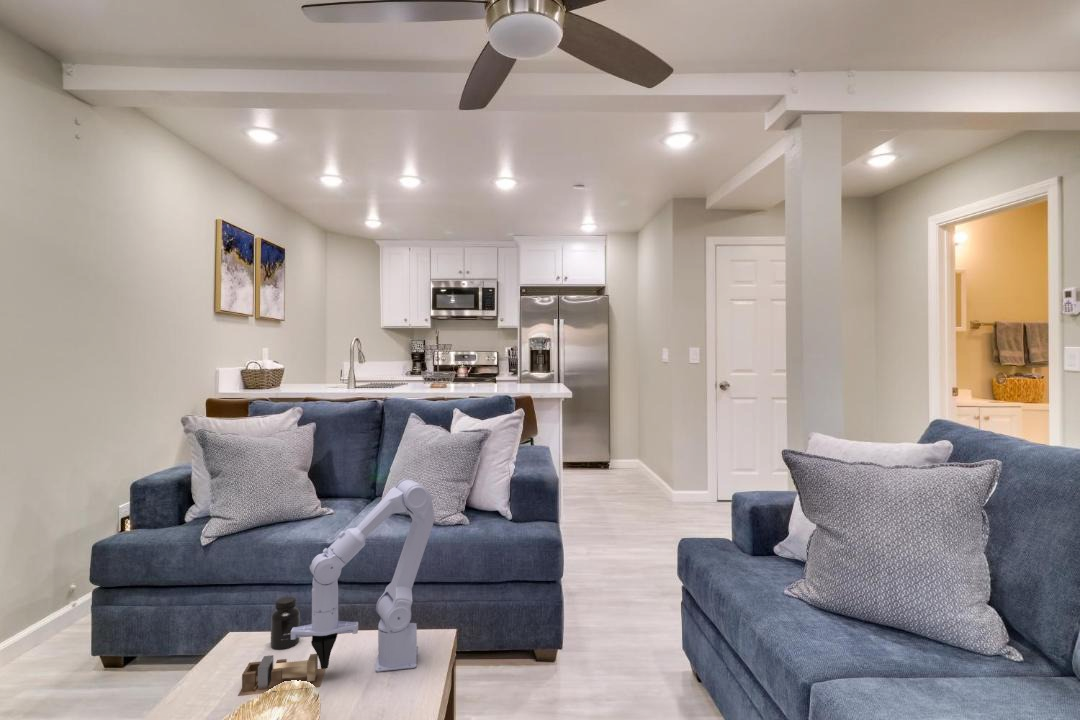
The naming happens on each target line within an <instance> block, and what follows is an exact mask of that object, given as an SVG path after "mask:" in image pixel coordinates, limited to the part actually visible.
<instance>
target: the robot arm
mask: <svg viewBox="0 0 1080 720" xmlns="http://www.w3.org/2000/svg"><path fill="white" fill-rule="evenodd" d="M406 510H407V511H406ZM406 512H408V514H409V516H410V518H411V524H410V527H409V529H408V533H407V536H406V539H405V542H404V544H403V548H402V550H401V553H400V556H399V559H398V561H397V565H396V568H395V571H394V574H393V577H392V579H391V582H390V583H389V584H387V585H386V587H385V590H384V592H383V594H382V595H381V596H380V597H379V598H378V600H377V602H376V606H375V607H376V613H377V614H378V615H379V617H380V620H379V621H378V626H377V628H378V630H377V631H378V632H377V633H378V635H377V636H378V638H377V644H378V646H377V652H378V653H377V657H376V663H375V669H374V671H375V672H377V673H378V672H385V671H386V672H387V671H395V670H396V671H397V670H405V669H413V668H417V656H418V655H419V647H418V646H417V644H418V643H417V642H418V640H417V638H418V636H417V634H418V633H417V632H418V631H417V630H418V629H417V628H418V627H417V623H415V622H410V621H411V620H412V609H411V608H412V604H413V592H412V590H413V587H414V583H415V581H416V577H417V574H418V571H419V568H420V565H421V562H422V559H423V556H424V553H425V549H426V547H427V544H428V541H429V538H430V535H431V532H432V529H433V526H434V522H435V519H436V516H435V512H434V506H433V495H432V494H431V492H430V491H429V489H428V488H427V487H426V486H424V485H423V484H421V483H418V482H417V481H415V480H414V479H413V478H403V479H401V480H400V481H399V482H397V484H396V485H395V486H392V488H390V489H389V491H388V492H387V493H386V494H385V496H384V497H383V498H382V499H381V500H380V501H379V502H378V503H377V505H376V506H375V507H374V508H373V509H372V510H371V511H370V512H369V513H368V514H367V515H366V516H365V518H364V519H363V520H362V521H361V522H360V523H359V524H358V525H357V526H356V527H350V528H347V529H346V530H345V531H344V530H341V531H340V532H339V533H338V536H339V537H337V538H336V540H335V541H334V542H332V543H331V545H329V547H328V548H327V547H325V548H324V549H323V550H322V553H319V554H317V555H316V556H315V557H314V558H313V559H312V561H311V563H310V565H309V571H310V573H311V574H312V576H313V577H312V588H311V623H310V624H309V623H308V624H306V625H305V624H304V625H301V626H299V627H293V628H292V630H291V640H293V639H296V638H299V639H300V638H310V637H311V642H310V643H311V646H312V648H313V650H314V651H315V652H316V653H315V654H317V655H318V662H319V664H320V669H326V670H327V669H328V667H329V664H330V658H331V657H330V656H331V654H332V653H331V652H332V650H333V647H334V646H335V643H336V640H337V638H338V635H343V634H353V635H357V634H358V633H359V621H344V620H343V621H341V620H339V585H338V582H339V580H338V579H339V578H340V576H341V574H342V570H343V569H342V568H344V567H345V566H346V565H347V564H348V563H349V562H350V561H351V560H353V558H354V557H356V555H357V554H358V553H359V552H360V551H361V550H362V549H363V548H364V547H365V546H366V539H367V537H368V536H369V535H370V534H371V533H372V532H374V531H375V530H376V529H377V528H378V527H379V526H380V525H381V524H383V523H384V522H385V521H386V520H387V519H389V517H390V516H392V515H393V514H401V513H406Z"/></svg>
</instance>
